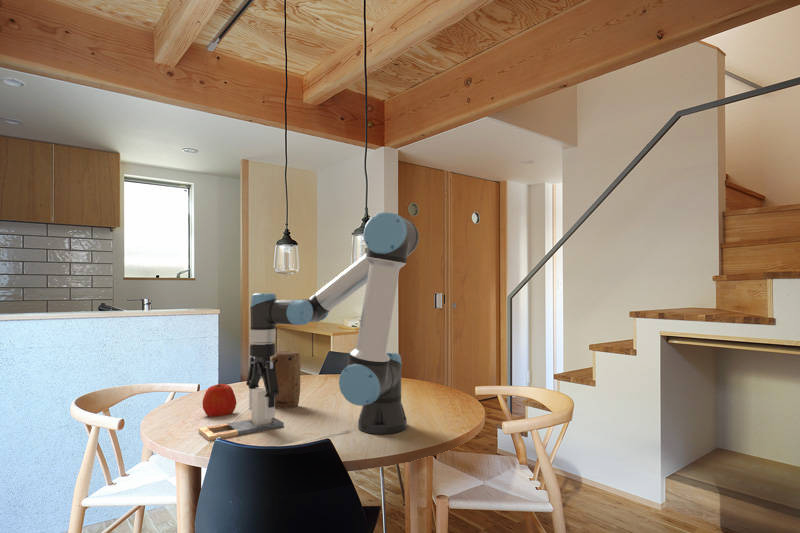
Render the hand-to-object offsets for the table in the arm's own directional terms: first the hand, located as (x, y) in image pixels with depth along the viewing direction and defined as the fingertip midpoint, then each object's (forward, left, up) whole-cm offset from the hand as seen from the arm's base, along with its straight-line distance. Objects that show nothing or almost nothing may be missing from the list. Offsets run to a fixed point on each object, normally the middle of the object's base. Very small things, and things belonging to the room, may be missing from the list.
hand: (261, 413), depth 144 cm
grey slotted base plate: (0, +6, -4) cm, 7 cm away
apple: (+24, +5, -5) cm, 25 cm away
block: (+20, -17, -5) cm, 26 cm away
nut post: (0, 0, -4) cm, 4 cm away
